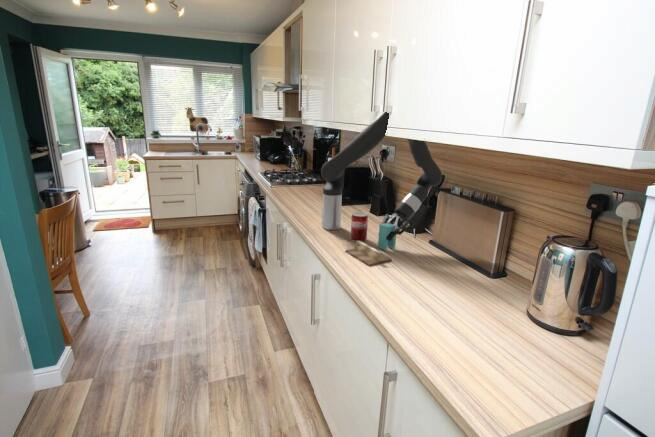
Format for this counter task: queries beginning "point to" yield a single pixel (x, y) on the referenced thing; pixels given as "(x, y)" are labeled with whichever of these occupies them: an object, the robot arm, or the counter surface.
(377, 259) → the rail board
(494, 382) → the counter surface
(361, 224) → the soda can
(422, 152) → the robot arm
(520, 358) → the counter surface
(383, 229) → the notched post
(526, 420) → the counter surface
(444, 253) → the counter surface
